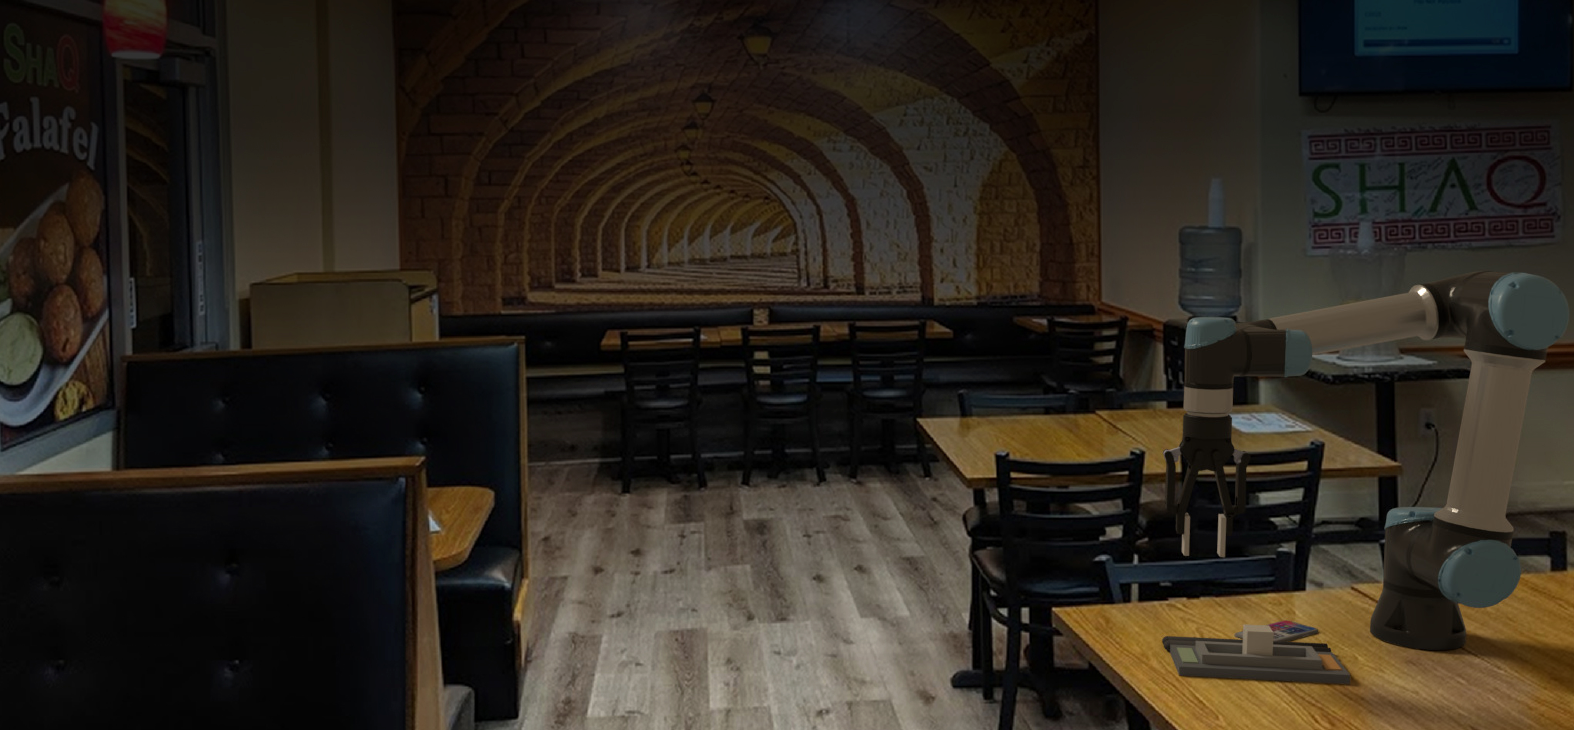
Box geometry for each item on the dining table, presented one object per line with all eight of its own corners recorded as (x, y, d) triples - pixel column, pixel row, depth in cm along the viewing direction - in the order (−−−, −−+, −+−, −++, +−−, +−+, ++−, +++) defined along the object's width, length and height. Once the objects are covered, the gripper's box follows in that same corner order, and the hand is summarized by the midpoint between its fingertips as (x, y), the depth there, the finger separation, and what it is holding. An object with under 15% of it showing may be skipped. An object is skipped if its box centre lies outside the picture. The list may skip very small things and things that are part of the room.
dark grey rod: (1325, 652, 216) (1325, 642, 216) (1327, 655, 214) (1328, 645, 214) (1161, 644, 220) (1161, 634, 220) (1162, 647, 218) (1162, 637, 218)
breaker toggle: (1267, 654, 209) (1268, 625, 209) (1272, 662, 206) (1273, 632, 205) (1242, 653, 210) (1243, 624, 209) (1246, 661, 206) (1247, 631, 206)
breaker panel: (1331, 660, 211) (1332, 643, 211) (1349, 684, 201) (1350, 665, 200) (1170, 653, 216) (1170, 635, 215) (1179, 675, 205) (1179, 657, 204)
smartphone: (1231, 632, 225) (1285, 618, 233) (1231, 638, 225) (1285, 624, 233) (1266, 643, 218) (1321, 628, 226) (1266, 649, 219) (1321, 634, 226)
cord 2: (1328, 656, 214) (1328, 646, 213) (1331, 660, 212) (1331, 649, 212) (1162, 648, 218) (1163, 638, 218) (1164, 652, 216) (1164, 641, 216)
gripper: (1261, 410, 207) (1256, 550, 210) (1147, 408, 210) (1143, 546, 213) (1270, 417, 200) (1265, 562, 202) (1153, 415, 203) (1149, 558, 205)
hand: (1203, 554), depth 208 cm, fingers open, 5 cm apart
